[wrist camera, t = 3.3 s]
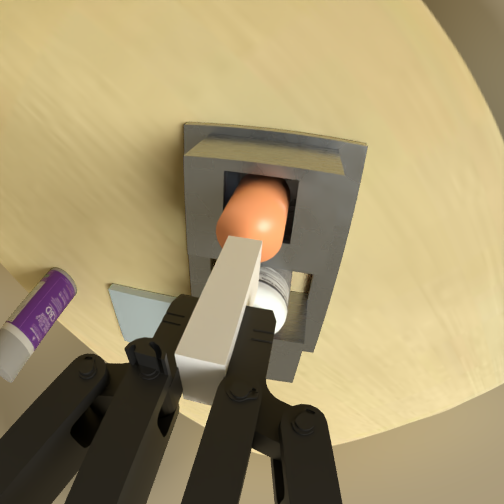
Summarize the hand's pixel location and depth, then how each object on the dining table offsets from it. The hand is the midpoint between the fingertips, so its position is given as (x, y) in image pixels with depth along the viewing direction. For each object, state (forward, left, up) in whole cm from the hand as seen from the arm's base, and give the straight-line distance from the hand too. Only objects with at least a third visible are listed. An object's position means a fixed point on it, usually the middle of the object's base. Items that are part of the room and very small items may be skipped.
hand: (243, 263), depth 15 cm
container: (+16, -25, -11) cm, 32 cm away
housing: (+7, 0, -11) cm, 13 cm away
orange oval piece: (0, 0, -7) cm, 7 cm away
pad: (+19, -12, -11) cm, 25 cm away
